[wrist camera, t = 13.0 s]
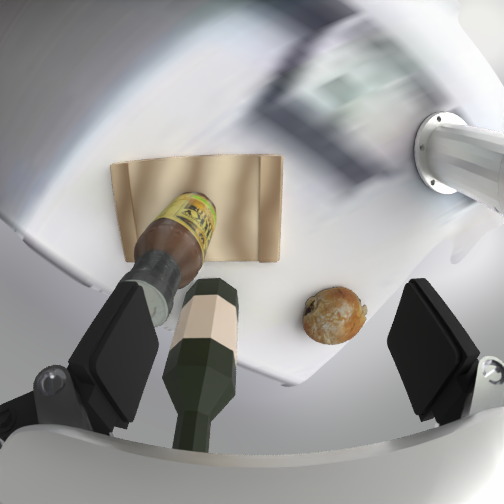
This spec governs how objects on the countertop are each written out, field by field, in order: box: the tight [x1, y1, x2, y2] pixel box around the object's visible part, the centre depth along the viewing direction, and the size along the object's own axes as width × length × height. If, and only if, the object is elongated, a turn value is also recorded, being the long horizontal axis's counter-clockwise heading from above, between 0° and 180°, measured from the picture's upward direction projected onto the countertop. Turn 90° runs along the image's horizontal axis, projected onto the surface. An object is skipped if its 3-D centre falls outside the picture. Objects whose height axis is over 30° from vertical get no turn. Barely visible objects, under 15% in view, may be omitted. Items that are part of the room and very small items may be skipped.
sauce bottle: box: [116, 192, 217, 327], centre depth 26 cm, size 6×6×20 cm
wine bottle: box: [162, 278, 239, 453], centre depth 29 cm, size 8×8×30 cm
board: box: [110, 154, 283, 262], centre depth 35 cm, size 22×14×2 cm, turn 90°
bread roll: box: [303, 287, 367, 345], centre depth 42 cm, size 10×10×8 cm
